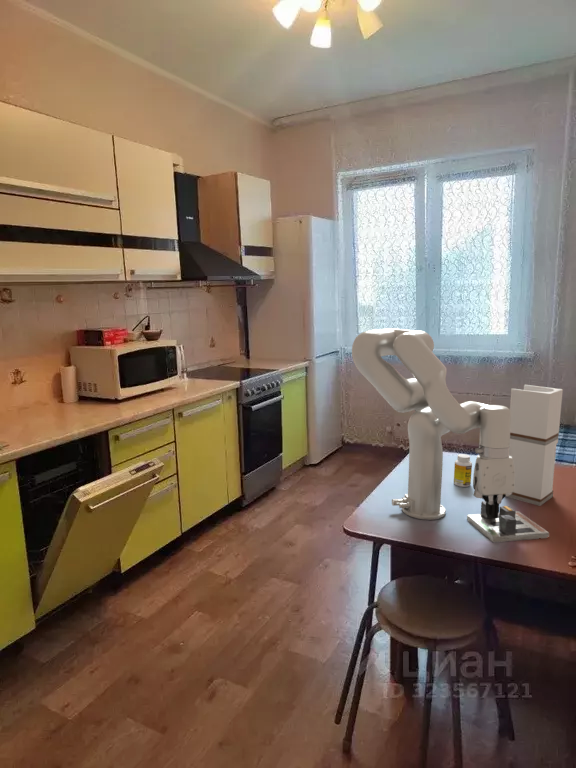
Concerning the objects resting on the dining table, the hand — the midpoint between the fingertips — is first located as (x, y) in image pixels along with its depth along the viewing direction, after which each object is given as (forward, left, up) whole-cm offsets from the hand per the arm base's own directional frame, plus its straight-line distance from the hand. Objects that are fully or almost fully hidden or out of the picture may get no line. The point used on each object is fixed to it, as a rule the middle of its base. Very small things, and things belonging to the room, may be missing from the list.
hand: (492, 516), depth 144 cm
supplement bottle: (+9, +34, -4) cm, 36 cm away
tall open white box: (+25, +21, -4) cm, 33 cm away
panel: (+5, +1, -4) cm, 6 cm away
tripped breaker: (+5, +1, -2) cm, 5 cm away
